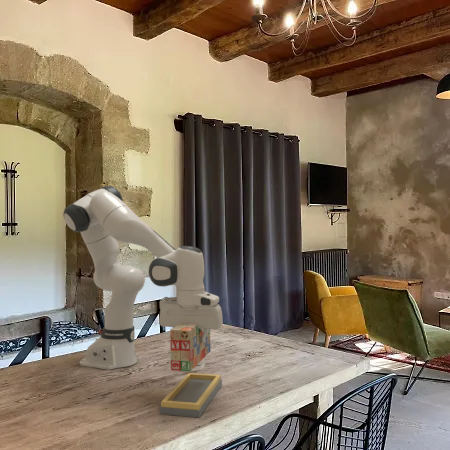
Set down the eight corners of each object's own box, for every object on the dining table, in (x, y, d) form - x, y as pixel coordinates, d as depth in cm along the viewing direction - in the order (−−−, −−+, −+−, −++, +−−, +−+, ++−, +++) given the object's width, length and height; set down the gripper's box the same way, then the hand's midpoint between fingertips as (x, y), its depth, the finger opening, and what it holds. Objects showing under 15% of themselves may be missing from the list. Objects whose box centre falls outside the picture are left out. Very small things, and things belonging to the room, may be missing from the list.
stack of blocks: (193, 351, 159) (192, 314, 159) (210, 351, 158) (210, 315, 158) (170, 370, 138) (169, 328, 138) (190, 371, 137) (189, 329, 137)
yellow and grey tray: (159, 414, 136) (159, 402, 136) (188, 382, 162) (188, 372, 162) (199, 417, 133) (199, 405, 133) (221, 385, 160) (221, 374, 160)
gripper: (155, 298, 147) (156, 342, 147) (218, 300, 142) (219, 346, 142) (163, 295, 153) (163, 337, 153) (224, 297, 148) (224, 340, 148)
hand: (190, 341), depth 147 cm, fingers closed on stack of blocks, 6 cm apart
